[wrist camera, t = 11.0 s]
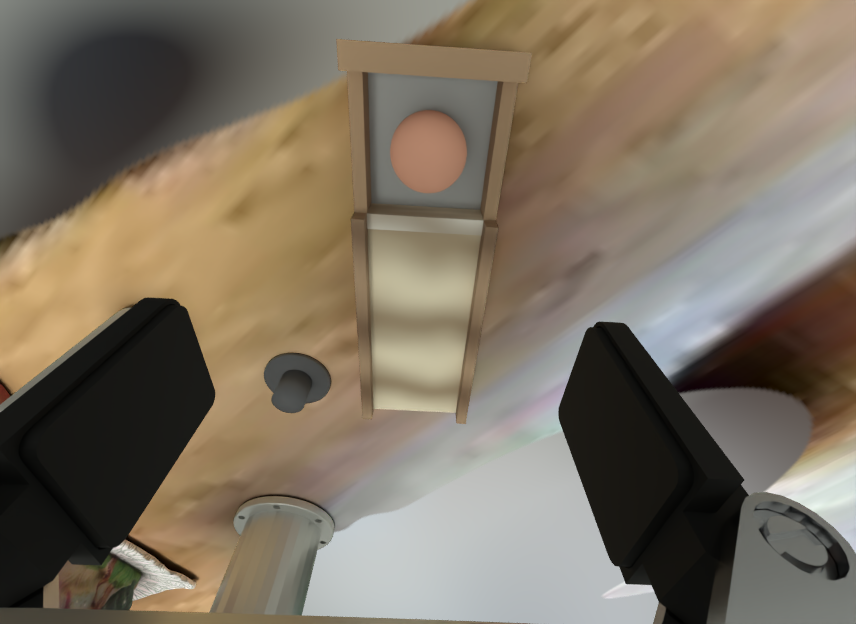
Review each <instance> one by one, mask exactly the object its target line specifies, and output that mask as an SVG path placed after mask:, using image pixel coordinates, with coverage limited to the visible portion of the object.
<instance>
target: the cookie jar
mask: <svg viewBox="0 0 856 624" xmlns="http://www.w3.org/2000/svg"><path fill="white" fill-rule="evenodd" d="M195 586H196V581H195V580H191V579H189V578H188V577H186V576H185V575H183V574H180V573H178V572H175V571H171V570H169V569H168V568H166V567H165V565H163V564H161V563H160V562H159V561H158V560H157V559H156V558H155V557H154V556H152V555H150V554H149V553H147V552H146V551H144V550H142V549H141V548H139V547H138V546H136V545H134V544H133V543H131V542H129V541H127V540H126V539H125V540H124V541H123V542H122V543H121V544H120V545H119V546H117V547H115V548H113V549H112V550H111V552H110V553H109V555H108V556H107V558H106V559H105V561H104V562H103V564H102V565H73V564H71V563H70V562H69V561H67V562H66V564H65V565H64V566H63V568H62V569H61V570H60V572H59V608H60V609H94V610H129V609H130V608H131V606H132V601H133V600H137V599H141V598H143V597H146V596H150V595H151V594H156V593H160V592H163V591H165V590H172V589H178V588H185V589H193V588H195Z"/></svg>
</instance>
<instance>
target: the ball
mask: <svg viewBox="0 0 856 624" xmlns="http://www.w3.org/2000/svg"><path fill="white" fill-rule="evenodd" d="M390 158H391V163H392V166H393V169H394V171H395V173H396V175H397V176H398V178H399V179H400V180H401V181H402V182H403V183H404V184H405V185H406V186H407V187H409V188H410V189H412V190H414V191H417V192H421V193H437V192H440V191H443V190H445V189H447V188H448V187H450V186H451V185H452V184H453V183H454V182H455V181H456V180H457V179H458V178H459V176H460V175H461V173H462V171H463V169H464V167H465V163H466V158H467V145H466V140H465V137H464V134H463V132H462V130H461V128H460V127H459V125H458V124H457V123H456V122H455V121H454V120H453V119H452V118H451V117H449V116H448V115H446V114H444V113H442V112H439V111H435V110H423V111H418V112H415V113H413V114H411V115H409V116H408V117H406V118H405V119H404V120H403V121H402V122H401V123H400V124H399V126H398V127H397V129H396V130H395V132H394V135H393V137H392V141H391V146H390Z"/></svg>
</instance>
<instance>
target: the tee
mask: <svg viewBox="0 0 856 624" xmlns="http://www.w3.org/2000/svg"><path fill="white" fill-rule="evenodd" d="M264 379H265V382H266V384H267V386H268V387H269V389H270V390H271V391H272V392H273V393H274V394H273V396H272V403H273V405H274V406H275V407H276V408H277V409H279V410H281V411H283V412H287V413H296V412H299V411H301V410H302V409H303V408H304V405H305V403H312V402H316V401H318V400H320V399H322V398H323V397H324V396H325V395H326V394H327V393H328V391H329V388H330V384H331V378H330V375H329V373H328V371H327V369H326V368H325V367H324V366H323V365H322V364H321V363H320V362H319V361H317V360H316V359H314V358H312V357H309V356H307V355H303V354H299V353H285V354H281V355H278V356H276V357H274V358H273V359H271V360H270V361H269V363H268V364H267V366H266V368H265V371H264Z"/></svg>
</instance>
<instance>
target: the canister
mask: <svg viewBox="0 0 856 624" xmlns="http://www.w3.org/2000/svg"><path fill="white" fill-rule="evenodd" d="M9 397H10V395H9V393H8V392H7V390H6V389H5V388H4V387H3V386H2V385H1V383H0V404H2V403H3V402H4V401H5V400H7V399H8V398H9Z"/></svg>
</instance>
